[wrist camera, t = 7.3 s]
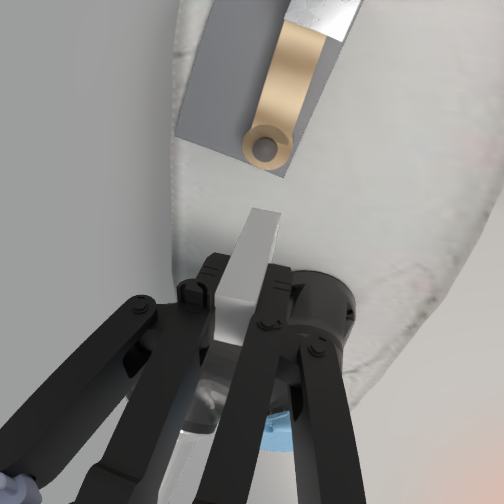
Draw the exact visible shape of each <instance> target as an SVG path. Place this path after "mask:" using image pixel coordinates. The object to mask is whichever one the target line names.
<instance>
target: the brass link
mask: <svg viewBox="0 0 504 504" xmlns="http://www.w3.org/2000/svg"><path fill="white" fill-rule="evenodd" d="M326 37H327V36H326V35H324V34H321V33H319V32H316V31H314V30H311V29H308V28H306V27H303V26H300V25H298V24H295V23H292V22H289V21H286V20H285V21H284V24H283V27H282V30H281V33H280V36H279V39H278V43H277V46H276V49H275V52H274V55H273V58H272V61H271V65H270V68H269V71H268V74H267V78H266V81H265V84H264V87H263V91H262V94H261V97H260V101H259V104H258V107H257V111H256V114H255V117H254V121H253V124H252V127H251V128H250V129H249V131H248V132H247V133H246V134H245V136H244V138H243V142H242V150H243V154H244V156H245V158H246V159H247V161H248V162H249V163H250V164H252V165H253V166H254V167H256V168H259V169H262V170H274V169H277V168H279V167H281V166H283V165H284V164H285V163H286V162H287V160H288V158H289V156H290V153H291V150H292V147H293V143H294V138H293V130H294V128H295V125H296V122H297V119H298V116H299V113H300V111H301V108H302V105H303V102H304V99H305V97H306V94H307V91H308V88H309V85H310V82H311V80H312V77H313V74H314V71H315V68H316V65H317V63H318V60H319V57H320V54H321V51H322V48H323V46H324V43H325V40H326Z"/></svg>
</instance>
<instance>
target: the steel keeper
mask: <svg viewBox="0 0 504 504" xmlns="http://www.w3.org/2000/svg"><path fill="white" fill-rule="evenodd" d="M360 1H361V0H291V2H290V5H289V7H288V9H287V12H286V14H285V17H284V20H286V21H289V22H292V23H295V24H298V25H300V26H303V27H306V28H308V29H311V30H314V31H316V32H319V33H321V34H324V35H326V36H328V37H331V38H333V39H335V40H338V41H340V42H342V41H343V38H344V36H345V34H346V32H347V30H348V27H349V25H350V23H351V21H352V18H353V16H354V14H355V12H356V10H357V7H358V5H359V3H360Z"/></svg>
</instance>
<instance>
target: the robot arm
mask: <svg viewBox="0 0 504 504" xmlns="http://www.w3.org/2000/svg"><path fill="white" fill-rule="evenodd" d="M280 214H281V213H277V212H271V211H266V210H261V209H256V208H252V209H251V212H250V214H249V216H248V219H247V221H246V223H245V225H244V228H243V230H242V232H241V234H240V237H239V239H238V241H237V244H236V246H235V248H234V250H233V253H232V255H231V256H229V255H225V254H220V253H215V252H214V253H213V254H211V255H210V256H209V257H207V258H206V260H205V262H204V264H203V266H202V268H201V270H200V271H199V273H198V275H197V277H196V279H187V280H184V281H182V282H180V283H179V285H178V286H177V299H178V302H177V303H168V304H156V302H155V300H154V299H153V298H152V297H150V296H147V295H136V296H133V297H131V298H130V299H128V300H127V301H126V302H125V303H124V304H123V305H122V306H121V307H120V308H118V310H116V311H115V312H114V313H113V314H112V315H111V316H110V317H109V318H108V319H107V320H106V321H105V322H104V323H103V324H102V325H101V326H100V327H99V328H98V329H97V330H96V331H95V332H94V333H92V335H90V336H89V337H88V338H87V340H85V341H84V342H83V343H82V344H81V345H80V346H79V348H77V349H76V350H75V351H74V352H73V353H72V354H71V355H70V356H69V357H68V358H67V359H66V360H65V361H64V362H63V363H62V364H61V365H60V366H59V367H58V368H57V369H56V370H55V371H54V372H53V373H52V374H51V375H50V376H49V378H48V379H47V380H46V381H45V382H44V383H43V384H42V385H41V386H40V387H39V388H38V389H37V390H36V391H35V392H34V393H33V394H32V395H31V396H30V397H29V398H28V400H27V401H26V402H25V403H24V404H23V405H22V406H21V407H20V408H19V409H18V410H17V411H16V412H15V413H14V415H13V416H12V417H11V418H10V419H9V420H8V421H7V422H6V423H5V424H4V426H3V427H2V428H1V429H0V504H40V503H41V502H42V496H41V494H40V492H39V489H41V488H43V487H44V486H46V485H47V484H49V483H50V482H51V481H53V480H54V479H55V478H56V477H57V475H59V474H60V473H61V472H62V470H63V469H64V468H65V467H66V466H67V464H68V463H69V462H70V461H71V460H72V458H73V457H74V456H75V455H76V454H77V452H78V451H79V450H80V449H81V448H82V447H83V445H84V444H85V443H86V442H87V440H88V439H89V438H90V437H91V436H92V435H93V433H94V432H95V431H96V430H97V429H98V428H99V426H100V425H101V424H102V423H103V422H104V420H105V419H106V418H107V417H108V416H109V414H110V413H111V412H112V411H113V410H114V408H115V407H116V406H117V405H118V404H119V403H120V401H121V400H122V399H123V398H124V397H125V396H126V401H127V405H126V407H125V409H124V411H123V414H122V416H121V418H120V420H119V422H118V424H117V427H116V429H115V431H114V433H113V435H112V437H111V439H110V442H109V444H108V446H107V448H106V451H105V453H104V455H103V457H102V459H101V460H100V461H99V462H98V463H96V464H94V465H93V466H92V467H91V468H90V469H89V471H88V473H87V474H86V476H85V479H84V481H83V483H82V486H81V488H80V490H79V493H78V495H77V497H76V500H75V502H72V503H69V504H169V502H170V500H171V498H172V496H173V493H174V491H175V489H176V487H177V484H178V482H179V480H180V478H181V475H182V473H183V471H184V468H185V466H186V464H187V462H188V459H189V457H190V455H191V452H192V450H193V448H194V445H195V443H196V441H197V440H199V439H202V438H205V437H208V436H210V435H212V434H213V433H214V431H215V428H216V426H217V423H218V422H219V425H218V428H217V431H216V434H215V437H214V441H213V444H212V447H211V450H210V454H209V457H208V460H207V463H206V466H205V470H204V472H203V476H202V479H201V482H200V485H199V489H198V491H197V494H196V497H195V499H194V501H193V502H192V504H246V502H247V499H248V495H249V491H250V487H251V483H252V479H253V475H254V470H255V466H256V462H257V458H258V454H259V450H260V449H262V450H269V451H282V452H286V451H287V452H291V451H293V452H294V461H295V472H296V483H297V494H298V504H366V498H365V492H364V486H363V480H362V474H361V469H360V463H359V457H358V452H357V447H356V441H355V436H354V431H353V426H352V421H351V416H350V411H349V406H348V402H347V397H346V392H345V388H344V383H343V379H342V363H343V348H344V346H345V344H346V341H347V339H348V337H349V334H350V332H351V330H352V327H353V325H354V322H355V317H356V304H355V299H354V296H353V294H352V293H351V291H350V290H349V289H348V287H347V286H346V285H344V284H343V283H342V282H341V281H339V280H337V279H336V278H334V277H332V276H329V275H326V274H323V273H319V272H312V271H299V272H292V271H291V269H290V267H286V266H281V265H276V264H271V262H272V259H273V255H274V249H275V243H276V237H277V232H278V226H279V220H280Z"/></svg>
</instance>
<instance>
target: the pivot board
mask: <svg viewBox="0 0 504 504" xmlns="http://www.w3.org/2000/svg"><path fill="white" fill-rule="evenodd" d="M363 1H364V0H361V1H360V3H359V5H358V7H357V10H356V12H355V14H354V16H353V18H352V21H351V23H350V25H349V27H348V30H347V32H346V34H345V36H344V38H343V41H342V42H340V41H338V40H335V39H333V38H331V37H328V36H327V37H326V40H325V43H324V46H323V48H322V51H321V54H320V57H319V60H318V63H317V65H316V68H315V71H314V74H313V77H312V80H311V82H310V85H309V88H308V91H307V94H306V97H305V99H304V102H303V105H302V108H301V111H300V113H299V116H298V119H297V122H296V125H295V128H294V130H293V138H294V143H293V147H292V150H291V153H290V156H289V158H288V160H287V162H286V163H285V164H284V165H283V166H281V167H279V168H277V169H274V170H265V171H267V172H270V173H272V174H275V175H277V176H279V177H282V178H284V176H285V174H286V171H287V169H288V167H289V165H290V162H291V160H292V158H293V156H294V154H295V151H296V149H297V147H298V145H299V142H300V140H301V138H302V136H303V134H304V131H305V129H306V127H307V125H308V122H309V120H310V118H311V116H312V114H313V111H314V109H315V107H316V105H317V102H318V100H319V98H320V96H321V94H322V91H323V89H324V87H325V85H326V82H327V80H328V78H329V76H330V74H331V71H332V69H333V67H334V65H335V63H336V60H337V58H338V56H339V54H340V51H341V49H342V47H343V45H344V43H345V40H346V38H347V36H348V34H349V31H350V29H351V27H352V25H353V23H354V20H355V18H356V16H357V14H358V12H359V9H360V7H361V5H362V3H363ZM290 2H291V0H215V1H214V4H213V7H212V9H211V12H210V15H209V18H208V21H207V24H206V27H205V30H204V33H203V36H202V39H201V42H200V45H199V48H198V52H197V55H196V58H195V61H194V65H193V68H192V72H191V75H190V78H189V82H188V86H187V89H186V93H185V97H184V100H183V104H182V108H181V112H180V116H179V120H178V124H177V128H176V132H175V136H176V137H178V138H181V139H184V140H187V141H190V142H192V143H195V144H198V145H201V146H203V147H206V148H209V149H212V150H214V151H217V152H220V153H222V154H225V155H227V156H230V157H233V158H235V159H238V160H240V161H243V162H245V163H248V164H250V163H249V162H248V161H247V159H246V158H245V156H244V154H243V150H242V142H243V138H244V136H245V134H246V133H247V132H248V131H249V129H250V128H251V127H252V124H253V121H254V117H255V114H256V111H257V107H258V104H259V101H260V97H261V94H262V91H263V87H264V84H265V81H266V78H267V74H268V71H269V68H270V65H271V61H272V58H273V55H274V52H275V49H276V46H277V43H278V39H279V36H280V33H281V30H282V27H283V24H284V21H285V20H284V17H285V14H286V12H287V9H288V7H289V5H290ZM250 165H252V164H250Z"/></svg>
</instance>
